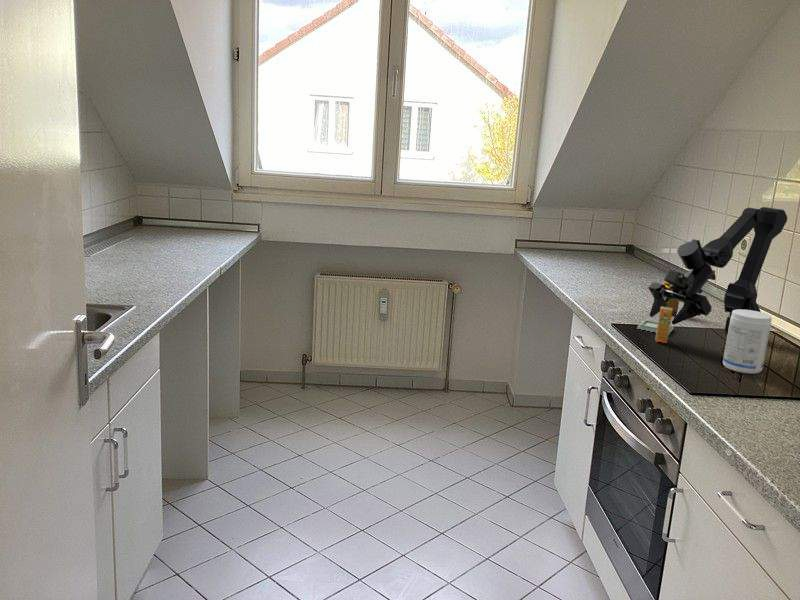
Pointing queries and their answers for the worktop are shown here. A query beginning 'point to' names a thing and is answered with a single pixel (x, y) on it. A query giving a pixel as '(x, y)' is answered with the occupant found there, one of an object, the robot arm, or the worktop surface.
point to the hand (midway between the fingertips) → (661, 319)
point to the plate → (651, 326)
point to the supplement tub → (747, 341)
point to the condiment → (671, 300)
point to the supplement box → (663, 324)
